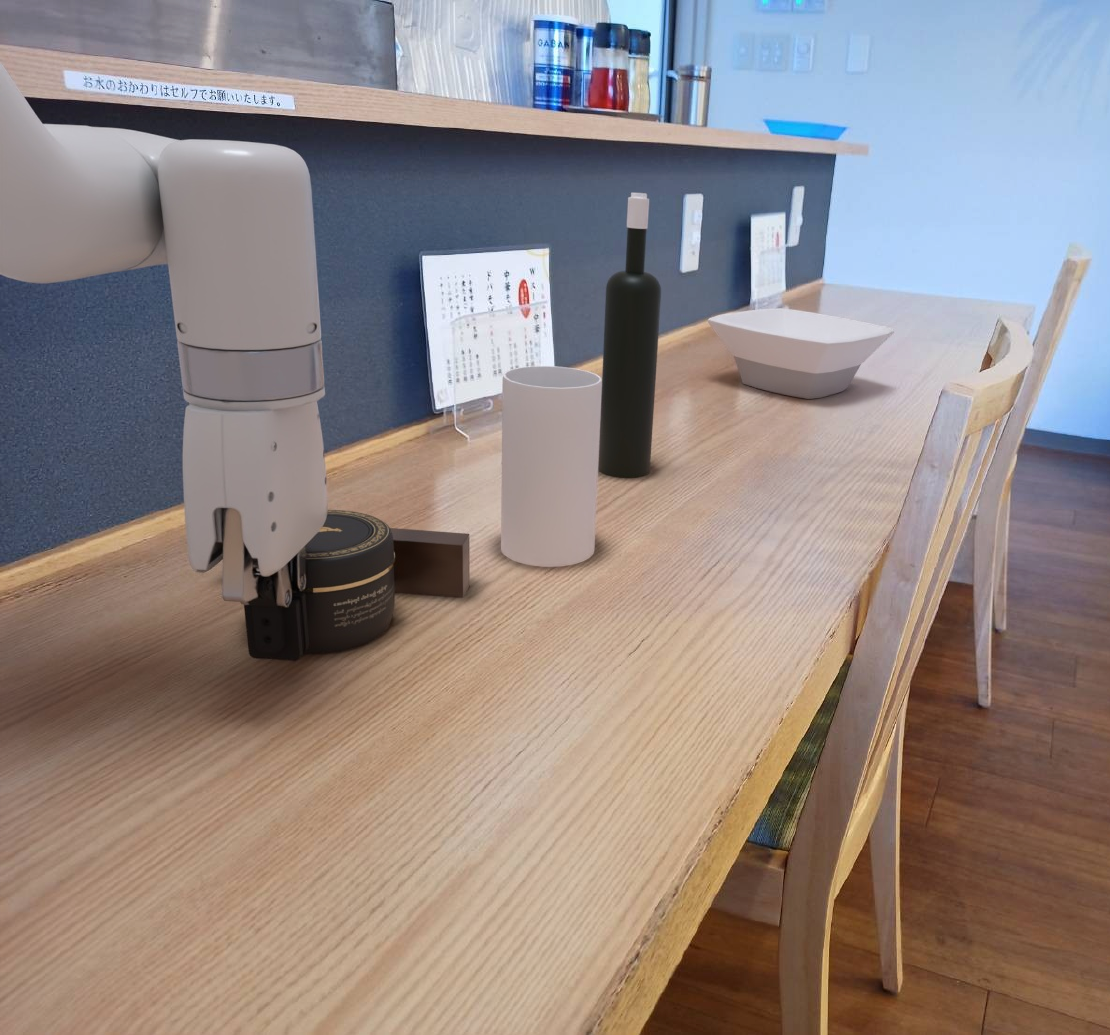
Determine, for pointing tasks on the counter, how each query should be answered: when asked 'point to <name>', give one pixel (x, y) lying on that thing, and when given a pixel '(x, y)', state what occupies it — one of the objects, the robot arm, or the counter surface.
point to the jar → (348, 582)
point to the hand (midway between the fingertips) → (279, 653)
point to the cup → (549, 464)
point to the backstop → (431, 562)
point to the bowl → (797, 349)
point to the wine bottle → (630, 356)
